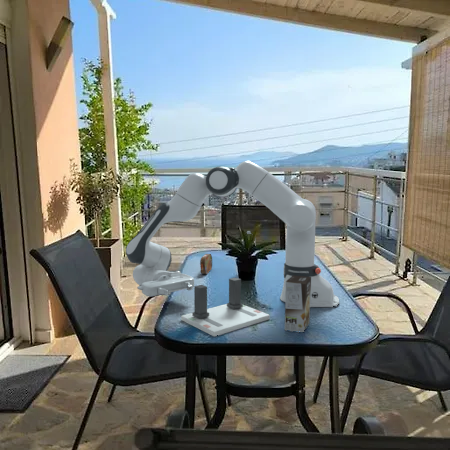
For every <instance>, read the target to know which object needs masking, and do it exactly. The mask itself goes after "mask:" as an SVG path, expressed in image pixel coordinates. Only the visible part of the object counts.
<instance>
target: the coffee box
mask: <svg viewBox="0 0 450 450" xmlns="http://www.w3.org/2000/svg"><path fill="white" fill-rule="evenodd" d="M310 295H311V277H306V276H294V275H293V276H292V277H291V278H289V279H288V280H287V281H286V299H285V302H284V304H285V306H284V331H287V330H290V331H289V332H293V331H298V332H297V333H299V331H300V332H305V331H306V330H305V329H307V328H308V327H309V325H310V316H311V307H310ZM308 324H309V325H308ZM307 326H308V327H307ZM306 327H307V328H306ZM304 330H305V331H304Z"/></svg>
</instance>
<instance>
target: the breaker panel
mask: <svg viewBox="0 0 450 450" xmlns="http://www.w3.org/2000/svg"><path fill="white" fill-rule="evenodd" d="M207 312H208V313H209V317H205V318H201V319H198V318H196V317H194V316H192V312H190V313H187V314H183V315H181V319H180V320H181V321H182V322H185V323H187V325H190V326H193V327H194V328H196V329H199V330H201V331H202V332H204V333H206V334H208V335H210V336H212V337H214V338H215V337H218V336H221V335H224V334H227V333H230V332H234V331H236V330H239V329H242V328H246V327H249V326H253V325H256V324H258V323H261V322H265V321H268V320H270V317H271V316H270V314H268V313H266V312H263V311H261V310H258V309H255V308H253V307H251V306H247V305H244V304H243V307H241V308H238V309H232V308H229V307H227V303H226V304H221V305H218V306H214V307H210V308H207ZM217 335H218V336H217Z"/></svg>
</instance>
